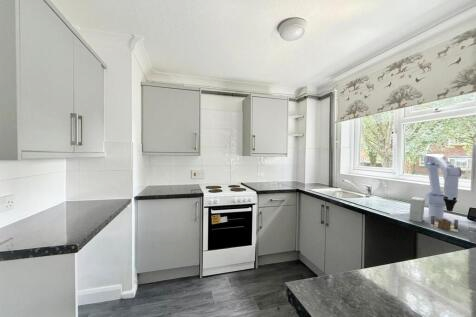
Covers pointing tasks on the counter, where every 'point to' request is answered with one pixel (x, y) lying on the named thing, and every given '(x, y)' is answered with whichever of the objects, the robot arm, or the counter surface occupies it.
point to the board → (444, 229)
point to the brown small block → (444, 224)
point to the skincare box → (417, 209)
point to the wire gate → (454, 222)
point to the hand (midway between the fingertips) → (449, 209)
